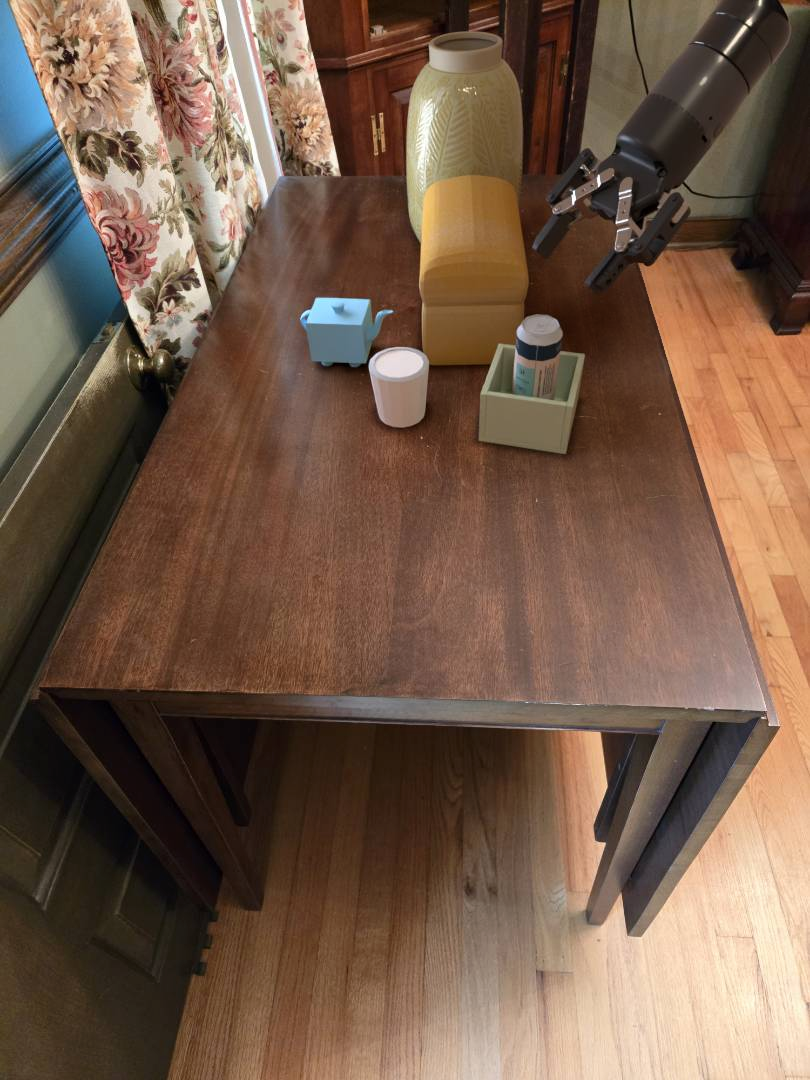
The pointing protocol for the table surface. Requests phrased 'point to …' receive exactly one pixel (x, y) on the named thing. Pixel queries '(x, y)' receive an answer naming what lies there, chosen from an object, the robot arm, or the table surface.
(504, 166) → the vase
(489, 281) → the bread
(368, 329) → the teapot
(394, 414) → the white cup
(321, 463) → the table surface
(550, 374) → the beer can
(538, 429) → the bin
